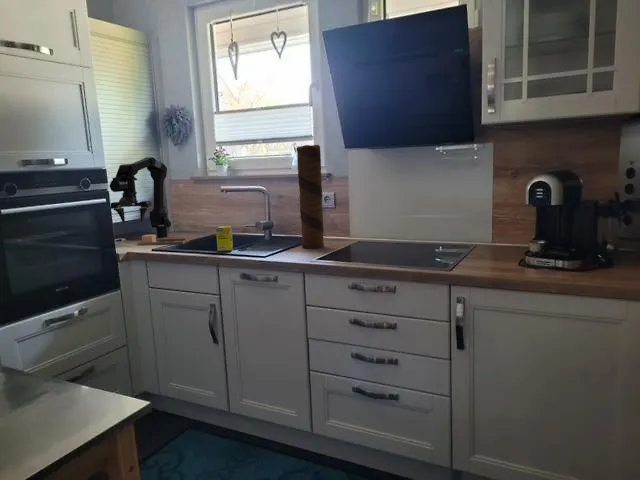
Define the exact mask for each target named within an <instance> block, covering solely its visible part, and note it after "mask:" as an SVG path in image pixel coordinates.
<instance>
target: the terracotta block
mask: <svg viewBox="0 0 640 480" xmlns="http://www.w3.org/2000/svg"><path fill="white" fill-rule="evenodd" d="M156 239H157V234H144V235H142V236H141V241H142V242H141V243H146V242H156Z"/></svg>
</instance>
